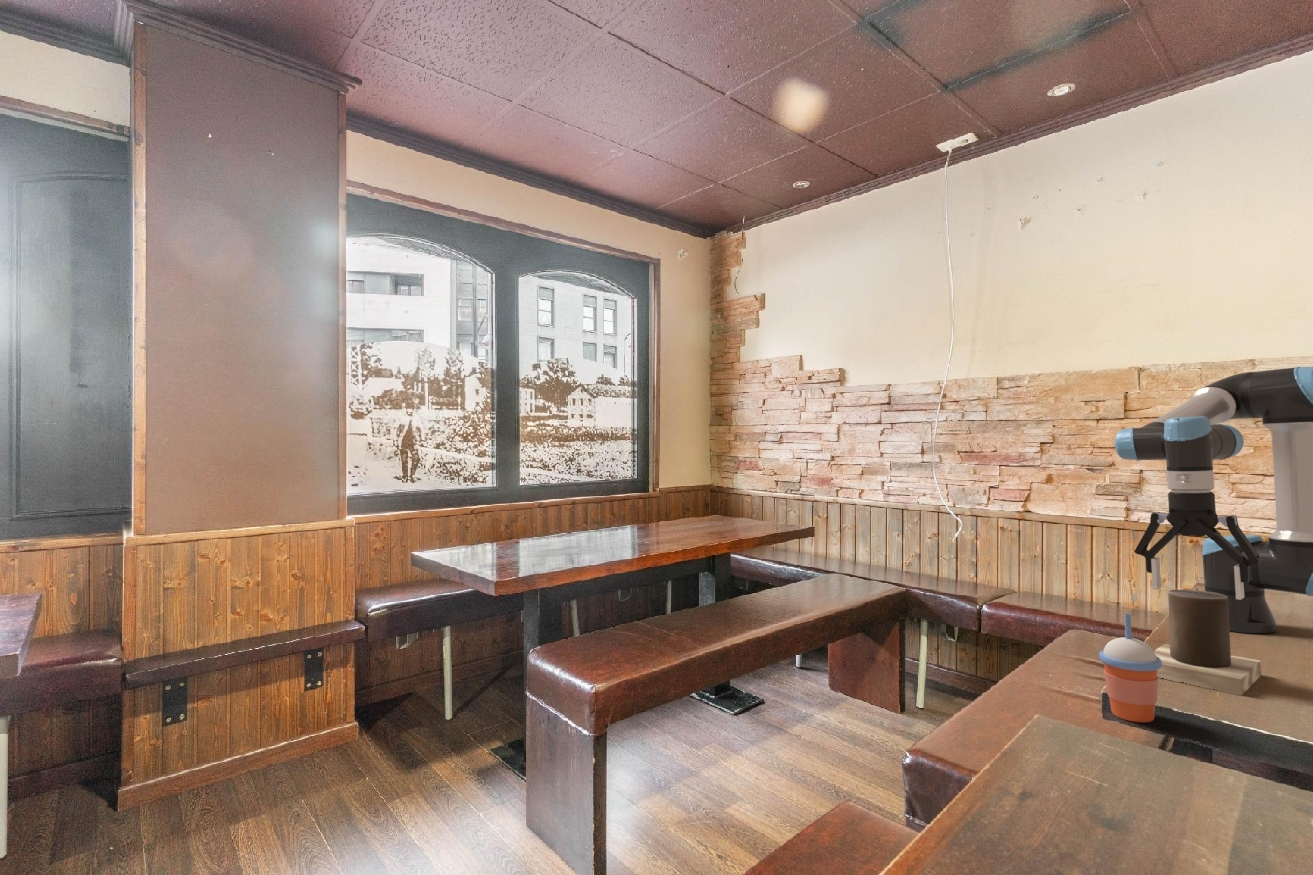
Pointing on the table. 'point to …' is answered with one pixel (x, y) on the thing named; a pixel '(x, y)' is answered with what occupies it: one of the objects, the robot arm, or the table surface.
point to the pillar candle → (1199, 628)
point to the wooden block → (1210, 673)
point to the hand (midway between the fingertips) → (1197, 593)
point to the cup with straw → (1131, 676)
